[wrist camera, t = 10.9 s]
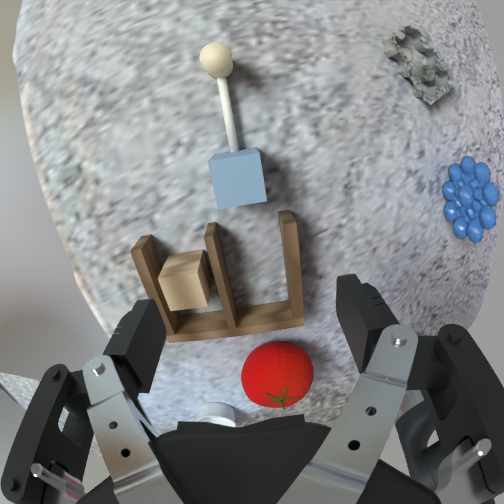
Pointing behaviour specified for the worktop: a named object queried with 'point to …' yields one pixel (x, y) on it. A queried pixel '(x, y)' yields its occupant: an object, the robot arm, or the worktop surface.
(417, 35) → the egg carton
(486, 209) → the grapes
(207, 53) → the tethered block
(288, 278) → the lane rack
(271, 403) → the tomato
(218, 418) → the ramekin
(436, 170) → the worktop surface
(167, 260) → the plain oak block
